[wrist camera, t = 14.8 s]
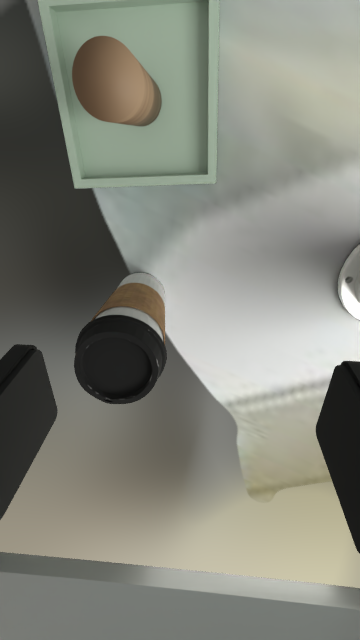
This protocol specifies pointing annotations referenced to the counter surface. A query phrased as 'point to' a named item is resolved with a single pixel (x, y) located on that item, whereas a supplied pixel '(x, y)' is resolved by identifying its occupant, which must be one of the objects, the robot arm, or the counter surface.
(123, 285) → the coffee cup
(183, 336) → the counter surface
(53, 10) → the sage tray
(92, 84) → the walnut dowel
